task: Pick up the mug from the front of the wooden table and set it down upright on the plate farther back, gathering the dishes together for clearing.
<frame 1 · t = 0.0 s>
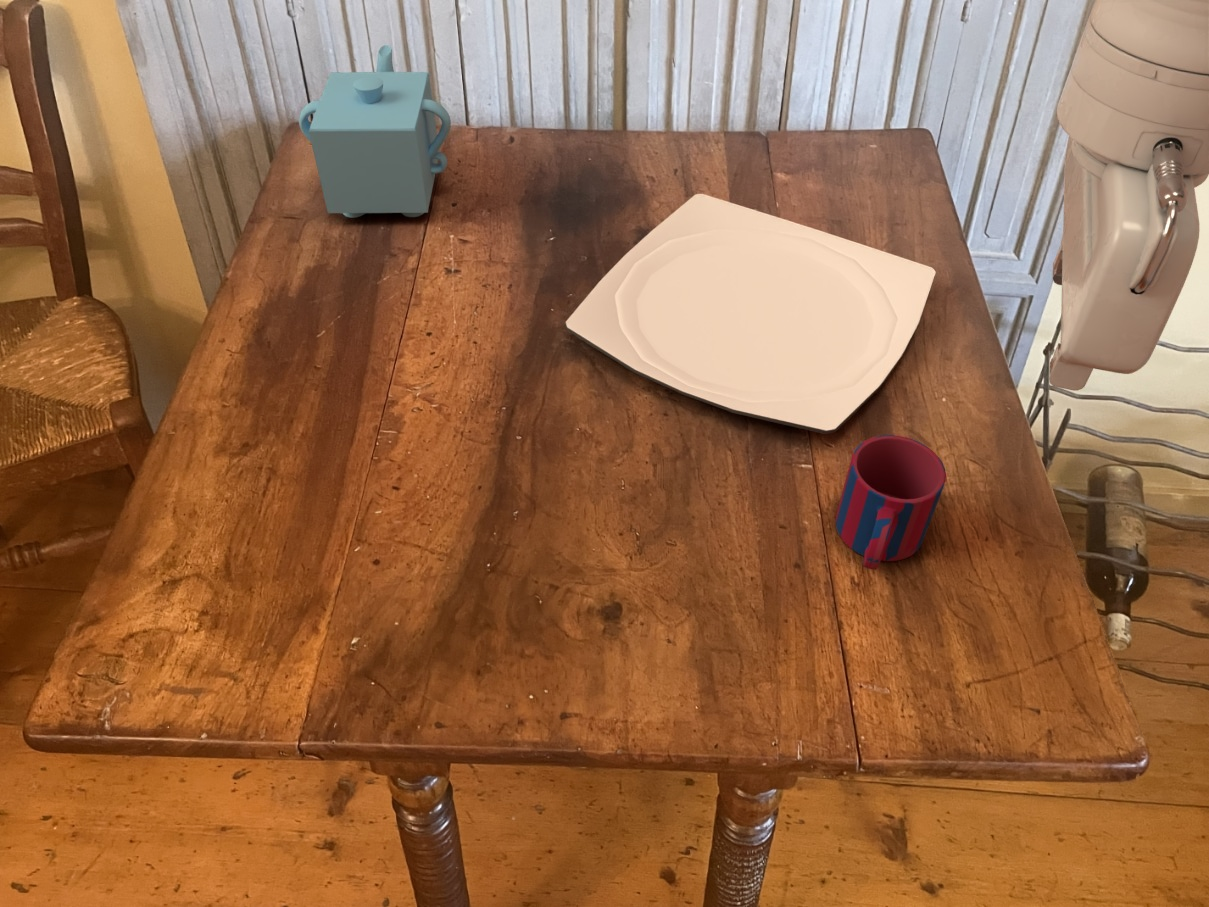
hand: (1065, 327, 56), 23 cm above the table, tool pointing down, fingers open, 8 cm apart
mug: (871, 544, 75), on the table
teapot: (391, 182, 110), on the table
plate: (752, 320, 94), on the table
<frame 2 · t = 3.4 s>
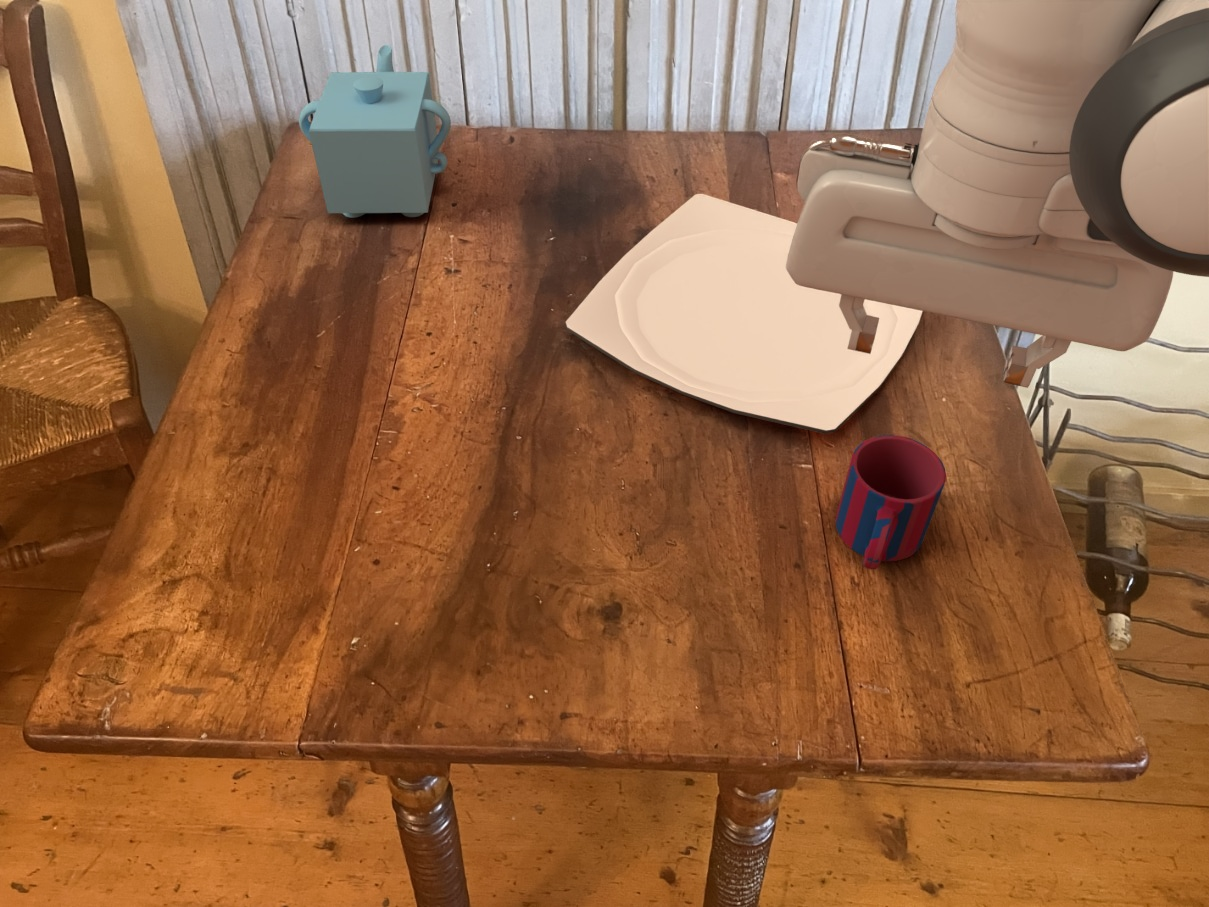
hand: (936, 362, 61), 19 cm above the table, tool pointing down, fingers open, 8 cm apart
nothing on the table moved.
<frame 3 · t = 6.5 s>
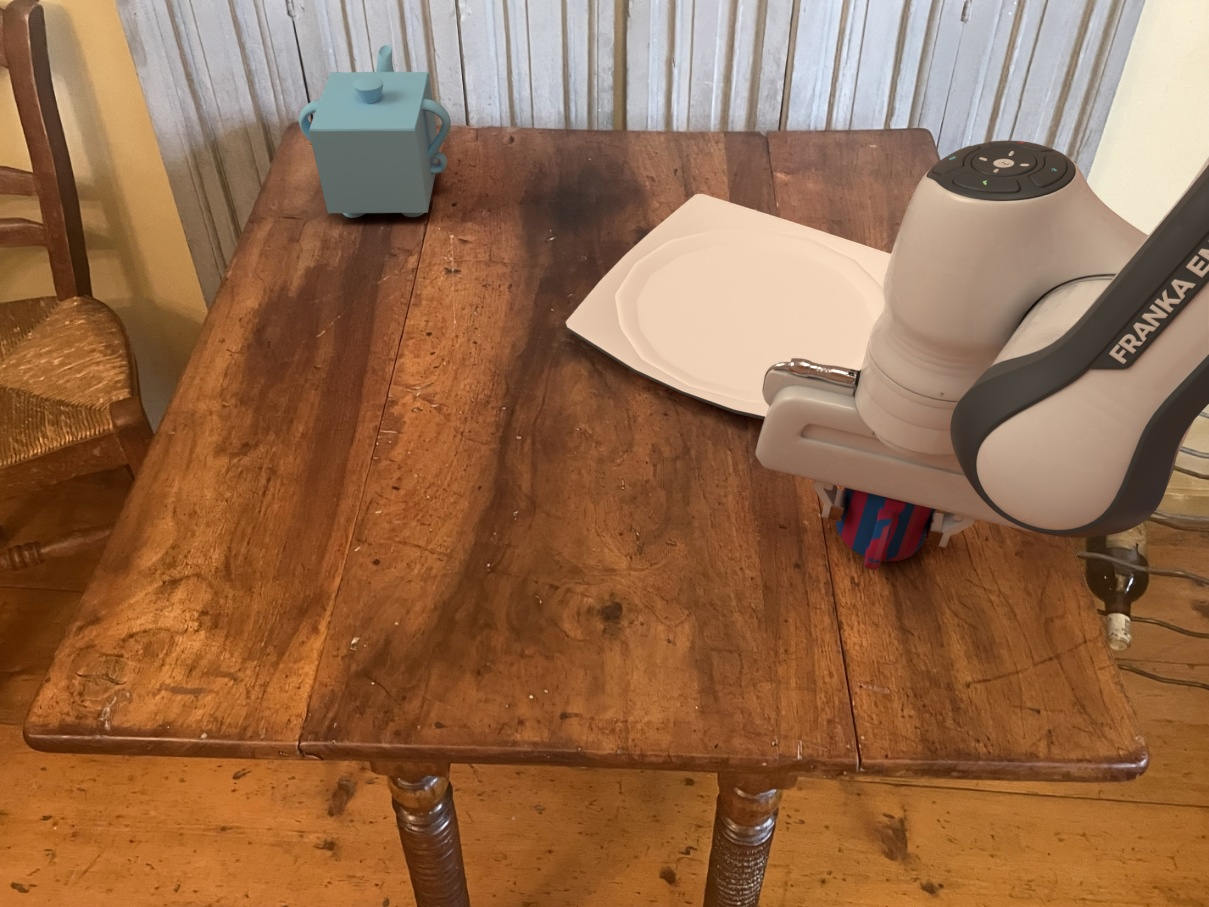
hand: (883, 526, 73), 3 cm above the table, tool pointing down, fingers closed on mug, 6 cm apart
mug: (872, 544, 75), on the table, touching gripper
everything else where it was.
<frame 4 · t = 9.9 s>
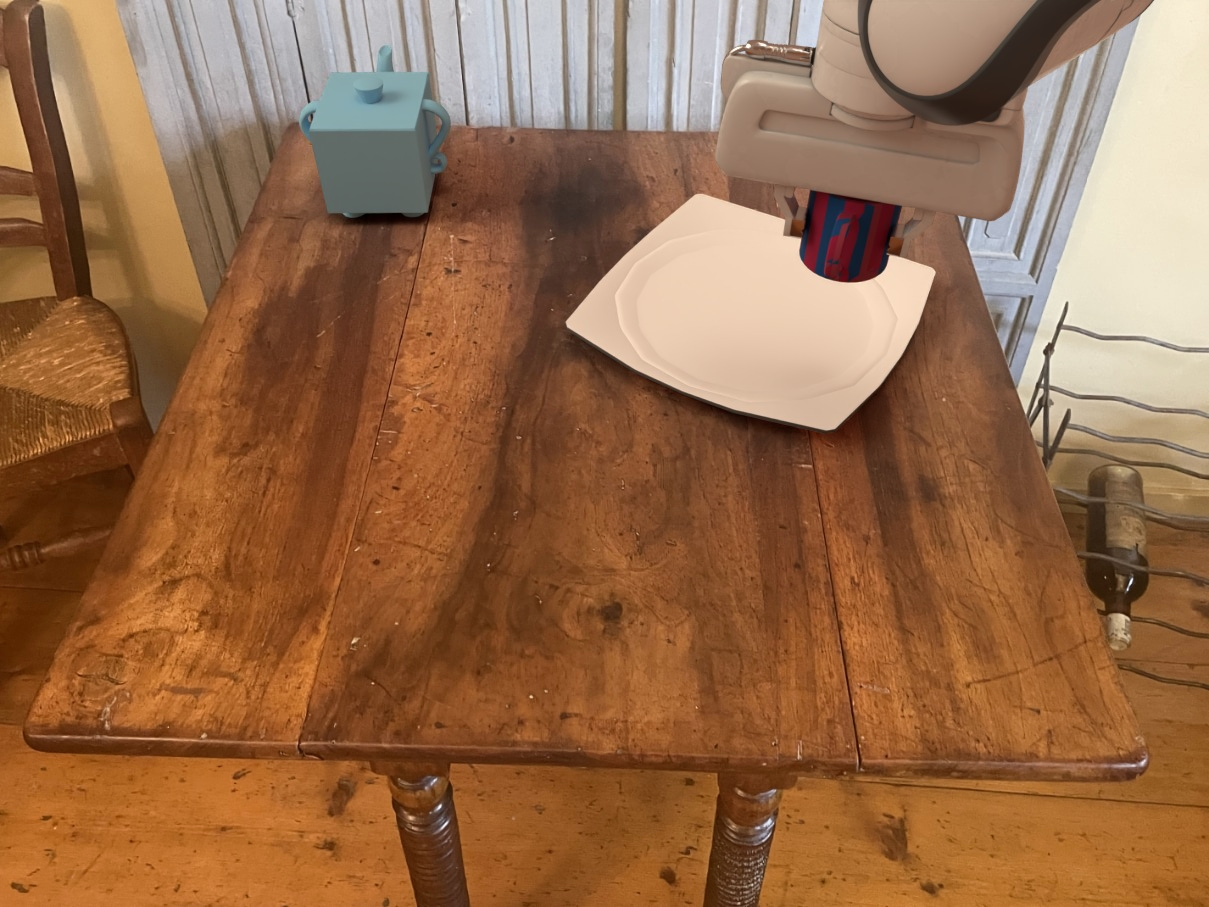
hand: (845, 243, 72), 17 cm above the table, tool pointing down, fingers closed on mug, 6 cm apart
mug: (835, 270, 75), point 14 cm above the table, touching gripper
everything else where it was.
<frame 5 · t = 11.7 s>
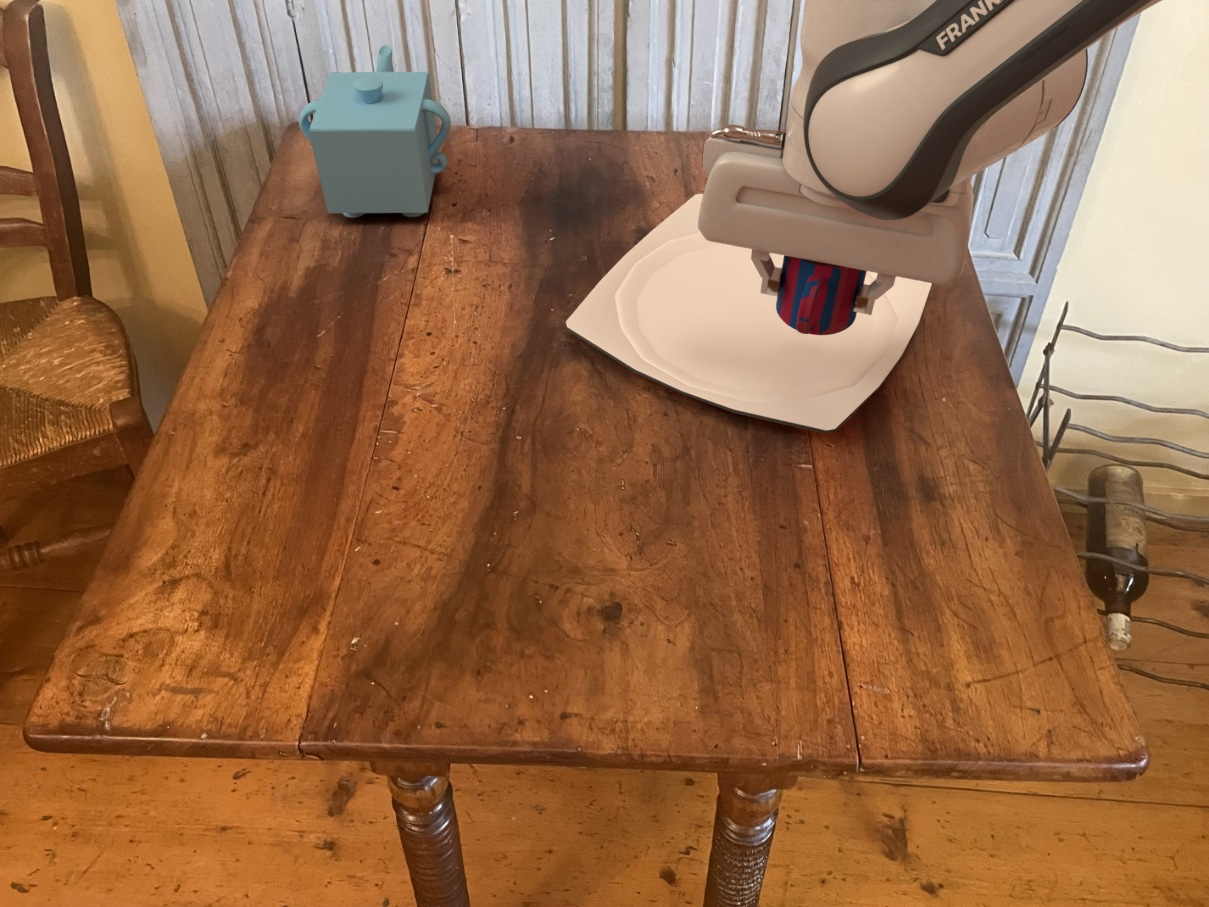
hand: (816, 300, 80), 10 cm above the table, tool pointing down, fingers closed on mug, 6 cm apart
mug: (808, 323, 82), point 7 cm above the table, touching gripper
everything else where it was.
when the fingers open (5 cm above the table, at t = 13.3 s): mug stays where it is, resting on plate.
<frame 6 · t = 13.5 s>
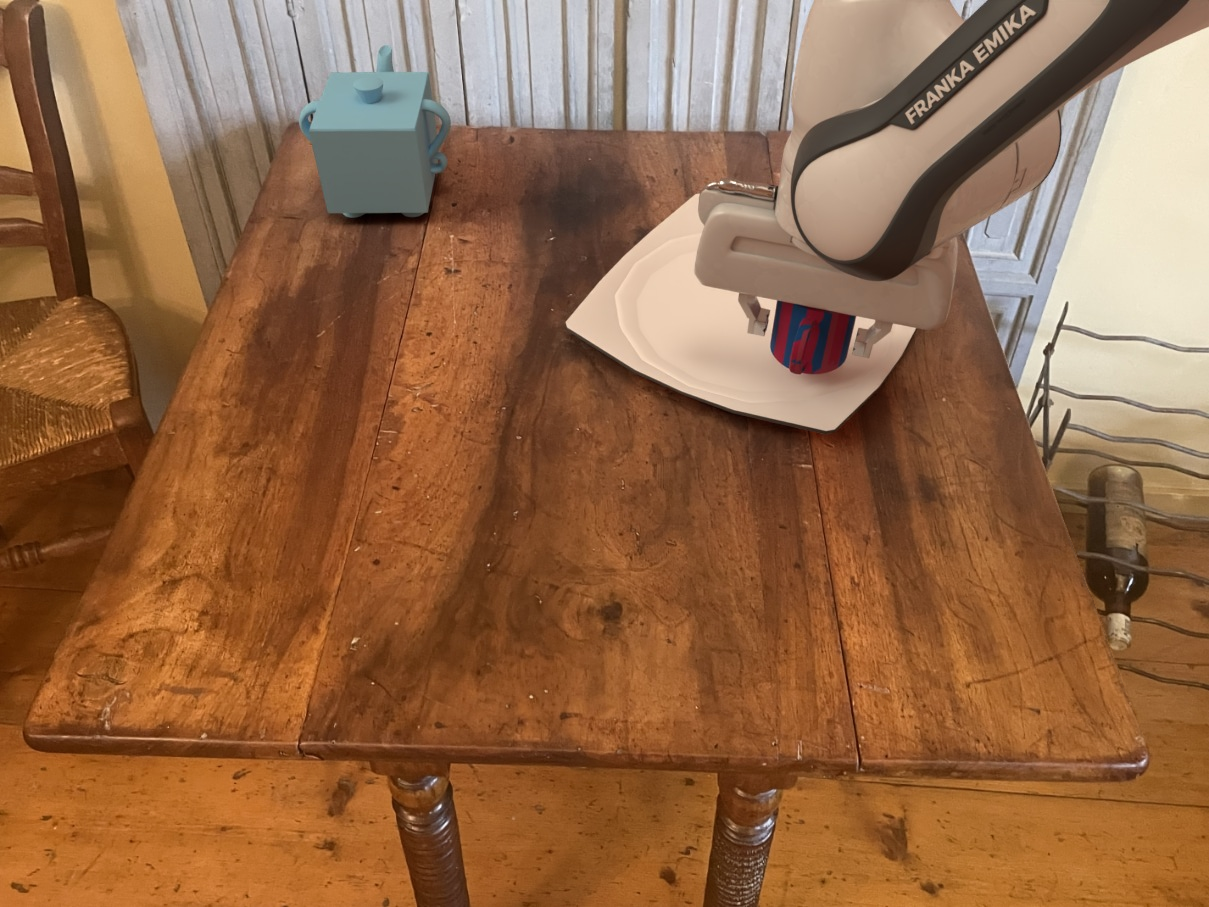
hand: (808, 341, 83), 5 cm above the table, tool pointing down, fingers open, 7 cm apart
mug: (801, 362, 85), point 2 cm above the table, touching plate
plate: (752, 320, 94), on the table, touching mug
everything else where it was.
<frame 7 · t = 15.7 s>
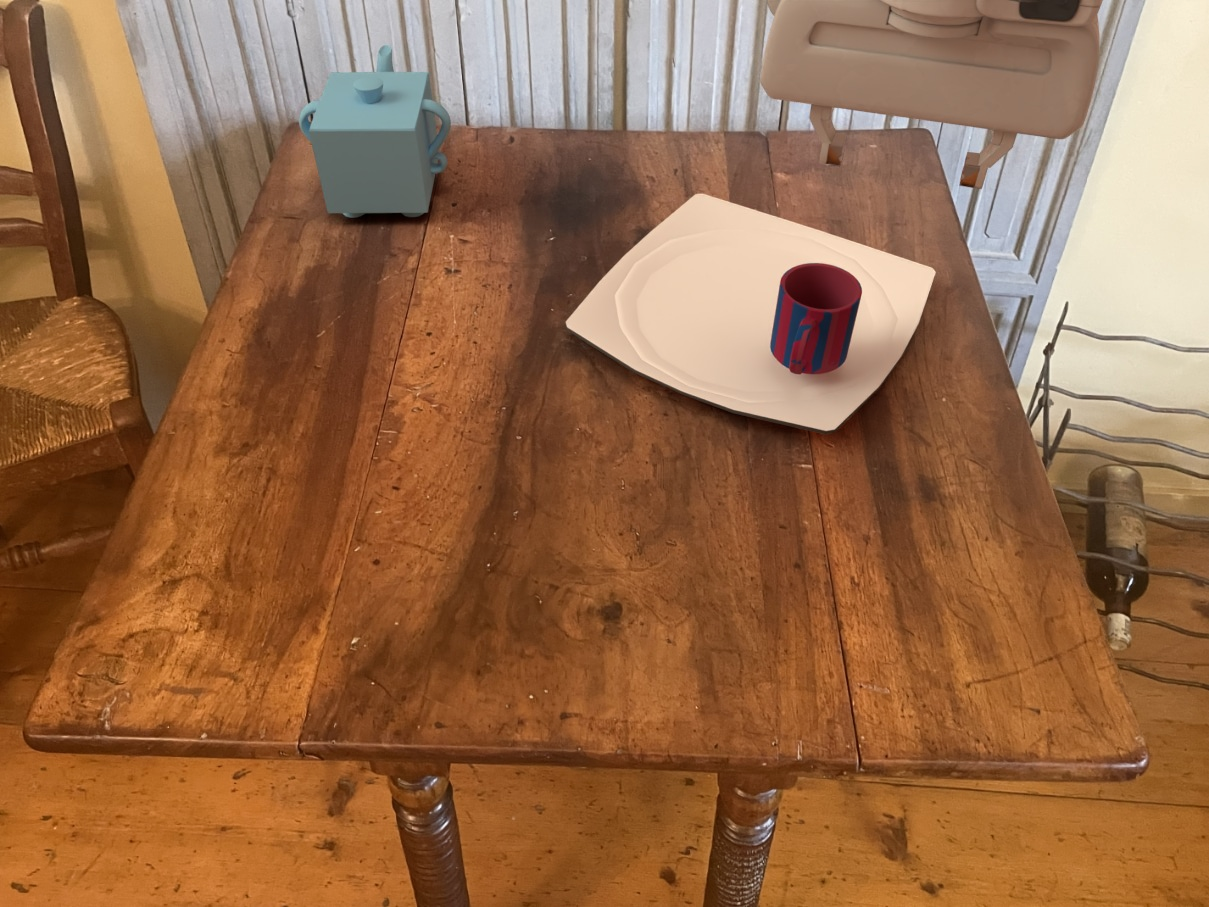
hand: (899, 172, 68), 23 cm above the table, tool pointing down, fingers open, 8 cm apart
nothing on the table moved.
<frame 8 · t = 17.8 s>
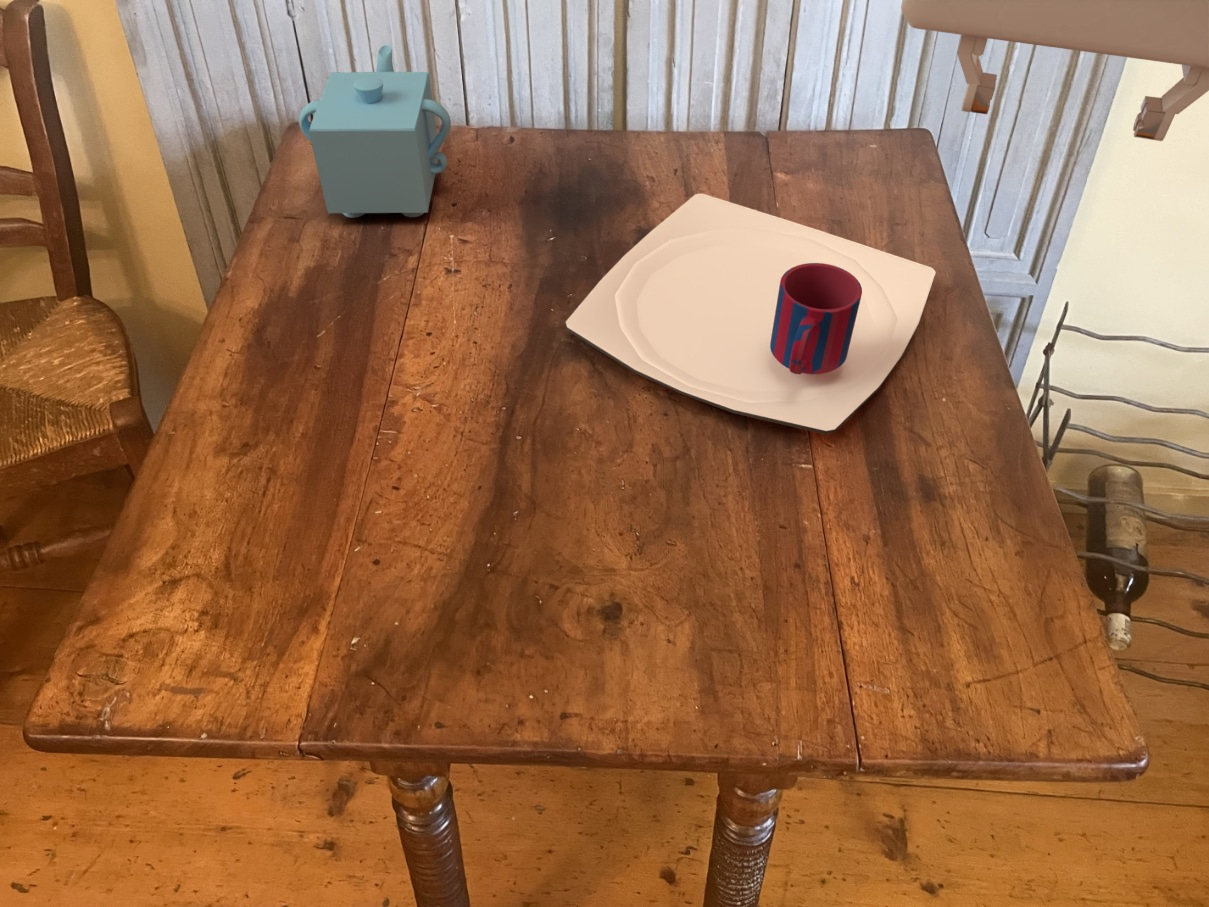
hand: (1059, 121, 57), 31 cm above the table, tool pointing down, fingers open, 8 cm apart
nothing on the table moved.
at the end: mug inside the target area on the plate (9.5 cm from its centre), point 2.7 cm above the plate's base; mug tilted 0°; the gripper is holding nothing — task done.
